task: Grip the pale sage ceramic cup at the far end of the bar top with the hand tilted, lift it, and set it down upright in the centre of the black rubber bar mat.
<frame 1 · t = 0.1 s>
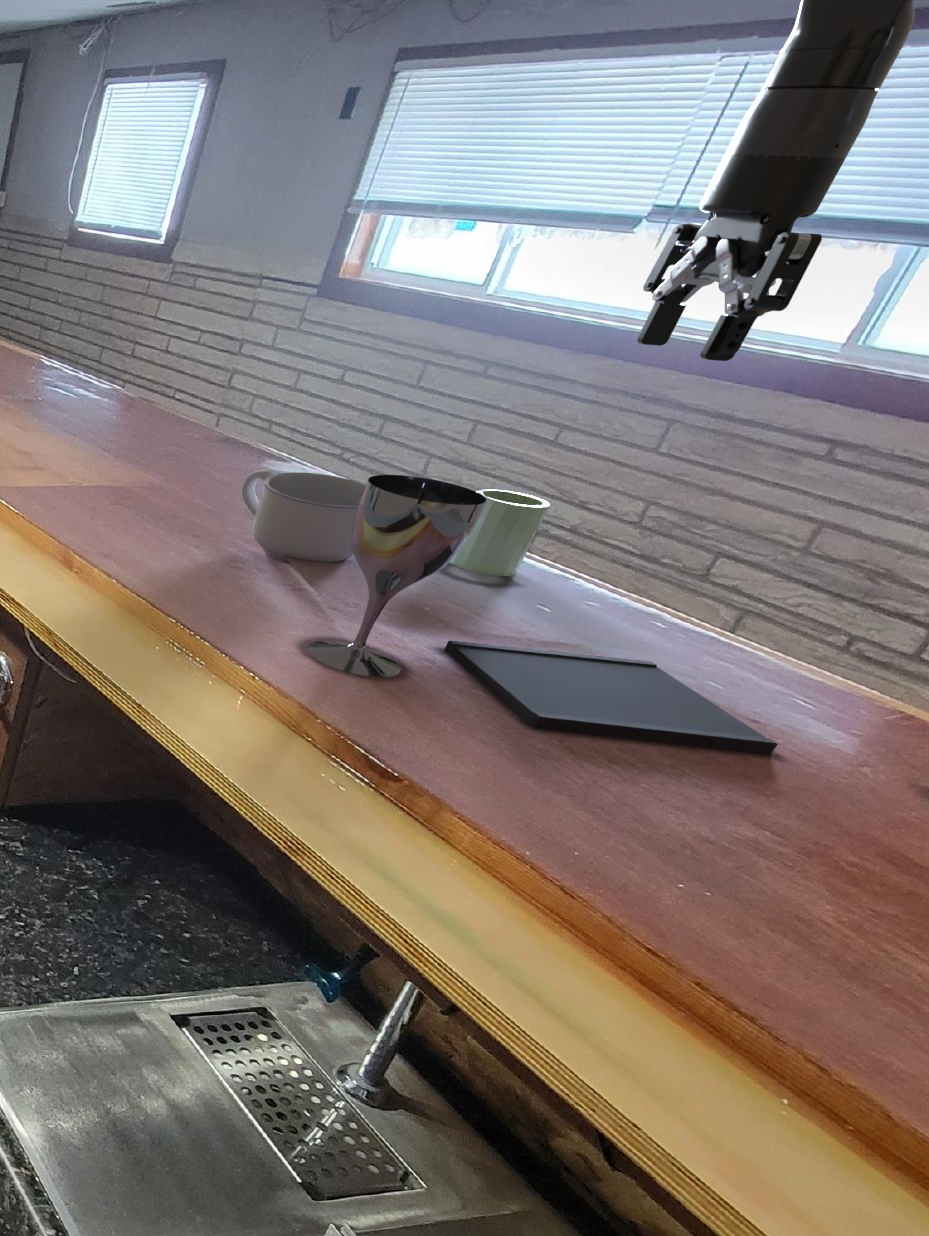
hand: (680, 351, 94), 23 cm above the counter, tool pointing down, fingers open, 8 cm apart
bar mat: (592, 699, 82), on the counter
teacup: (284, 554, 110), on the counter
wine glass: (351, 661, 87), on the counter
cup: (475, 576, 106), on the counter
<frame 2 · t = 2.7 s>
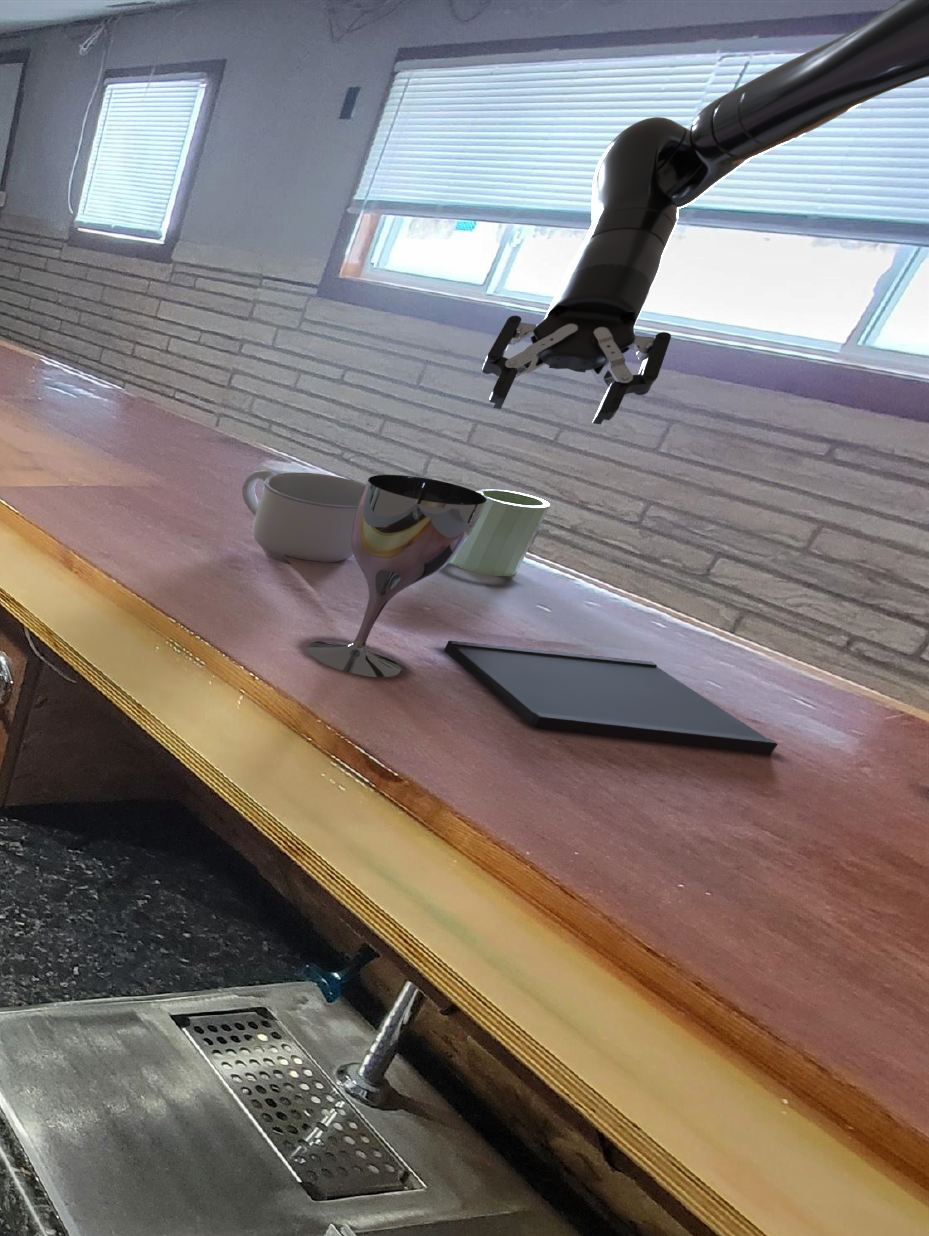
hand: (548, 411, 106), 15 cm above the counter, tool tilted 45°, fingers open, 8 cm apart
nothing on the counter moved.
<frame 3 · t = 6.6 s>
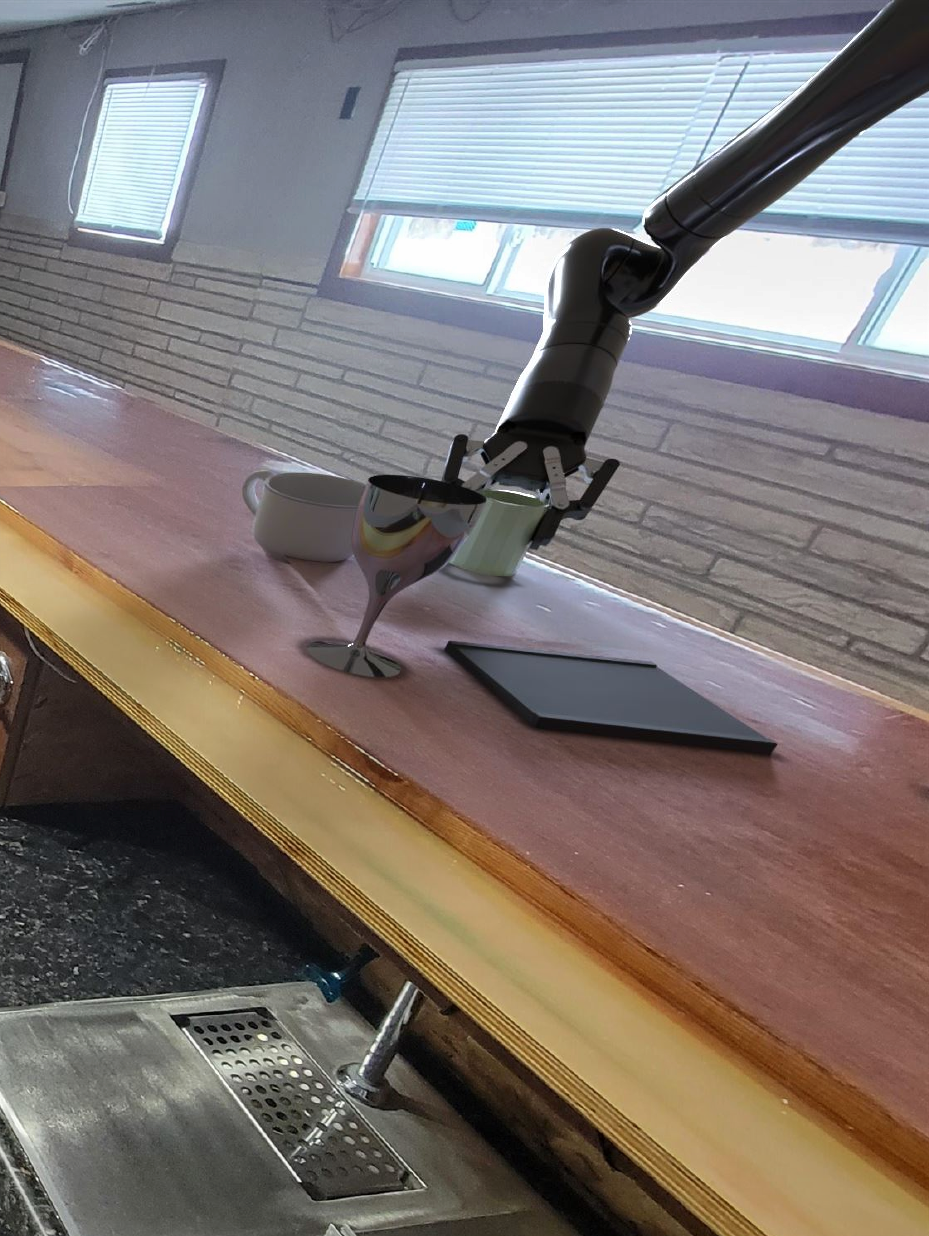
hand: (494, 536, 102), 5 cm above the counter, tool tilted 45°, fingers closed on cup, 6 cm apart
cup: (475, 576, 106), on the counter, touching gripper
everything else where it was.
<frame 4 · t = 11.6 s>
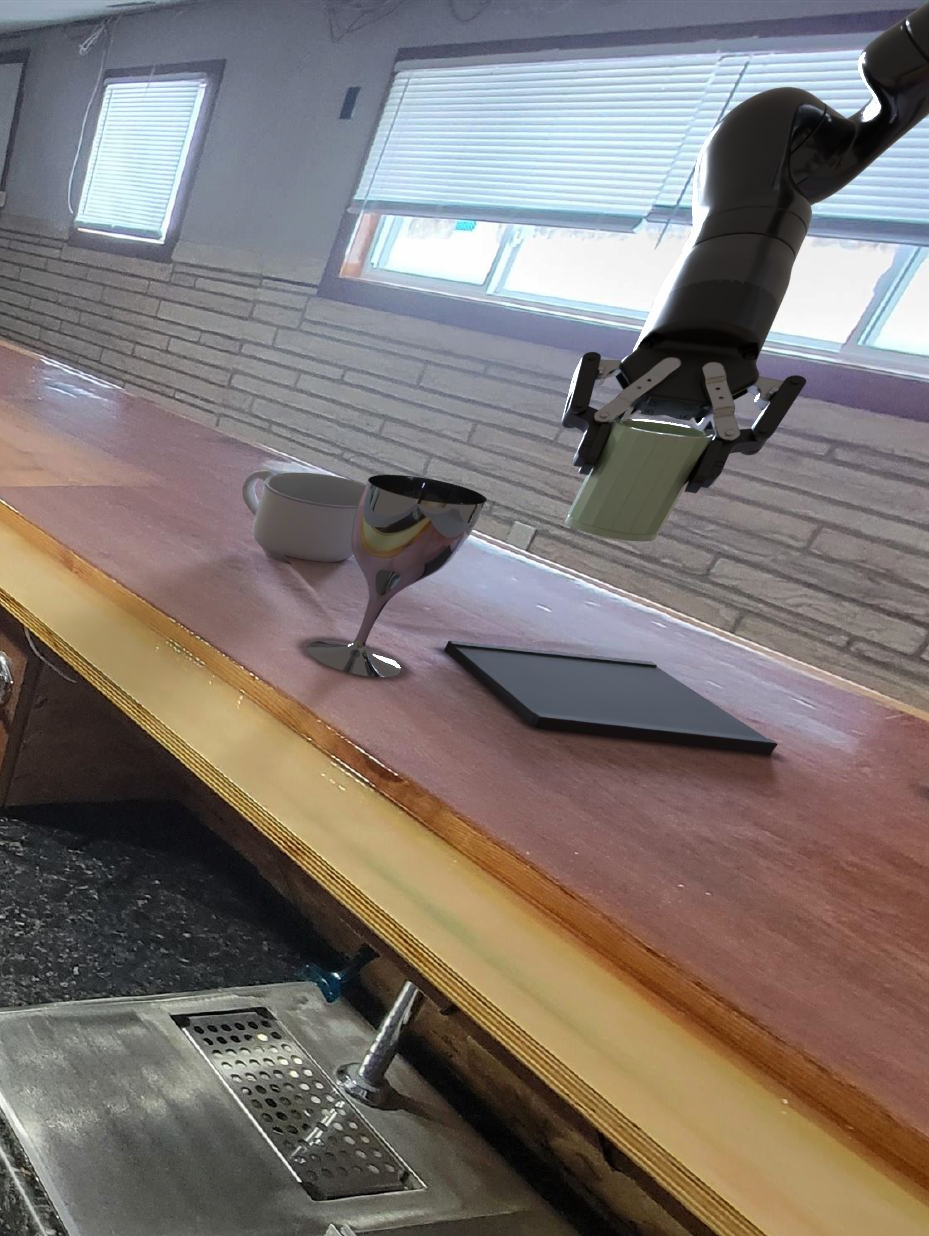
hand: (639, 477, 81), 16 cm above the counter, tool tilted 45°, fingers closed on cup, 6 cm apart
cup: (609, 529, 85), point 11 cm above the counter, touching gripper
everything else where it was.
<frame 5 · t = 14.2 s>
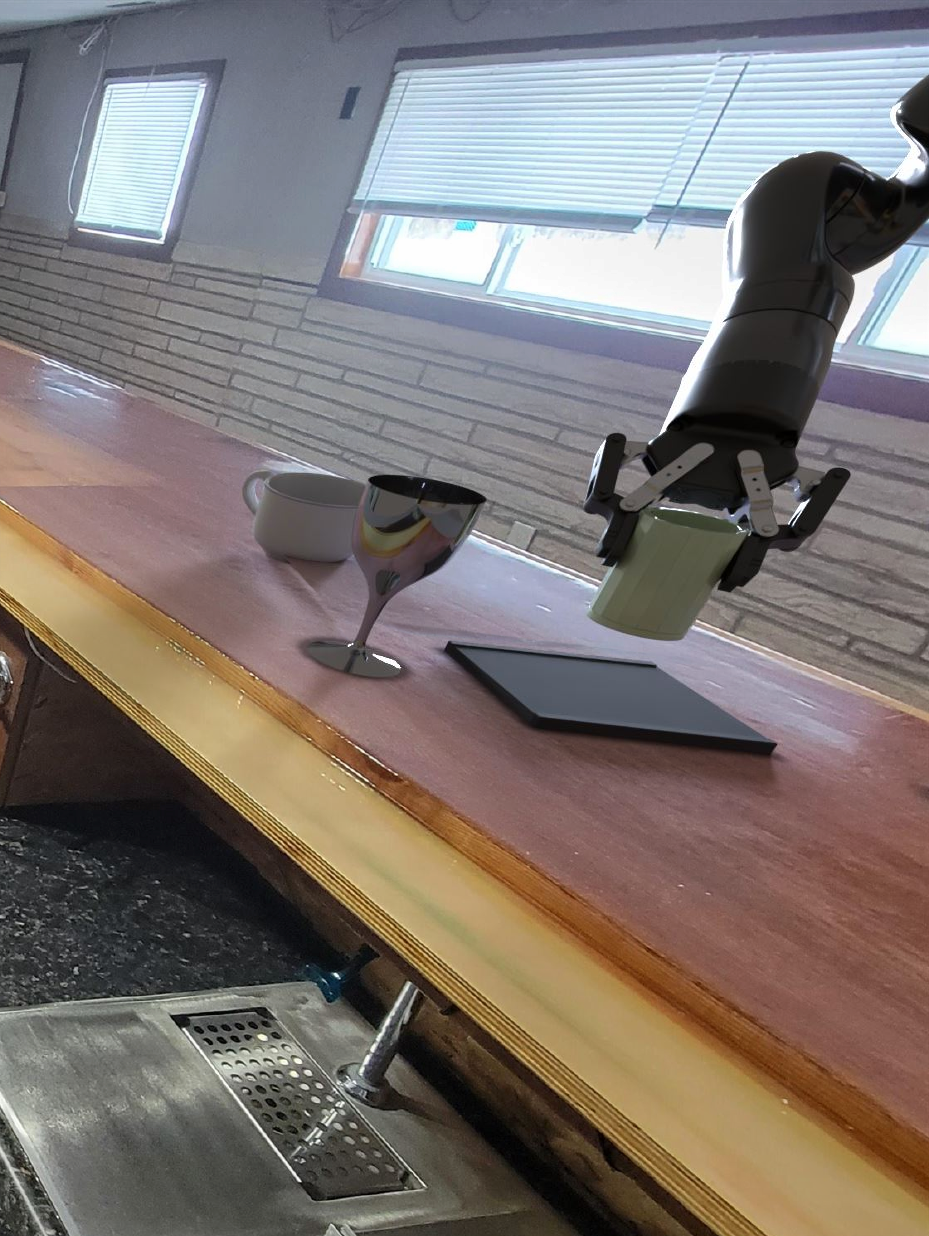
hand: (669, 573, 75), 11 cm above the counter, tool tilted 45°, fingers closed on cup, 6 cm apart
cup: (634, 624, 79), point 7 cm above the counter, touching gripper
everything else where it was.
when the fingers open (6 cm above the counter, at t = 16.4 s): cup stays where it is, resting on bar mat.
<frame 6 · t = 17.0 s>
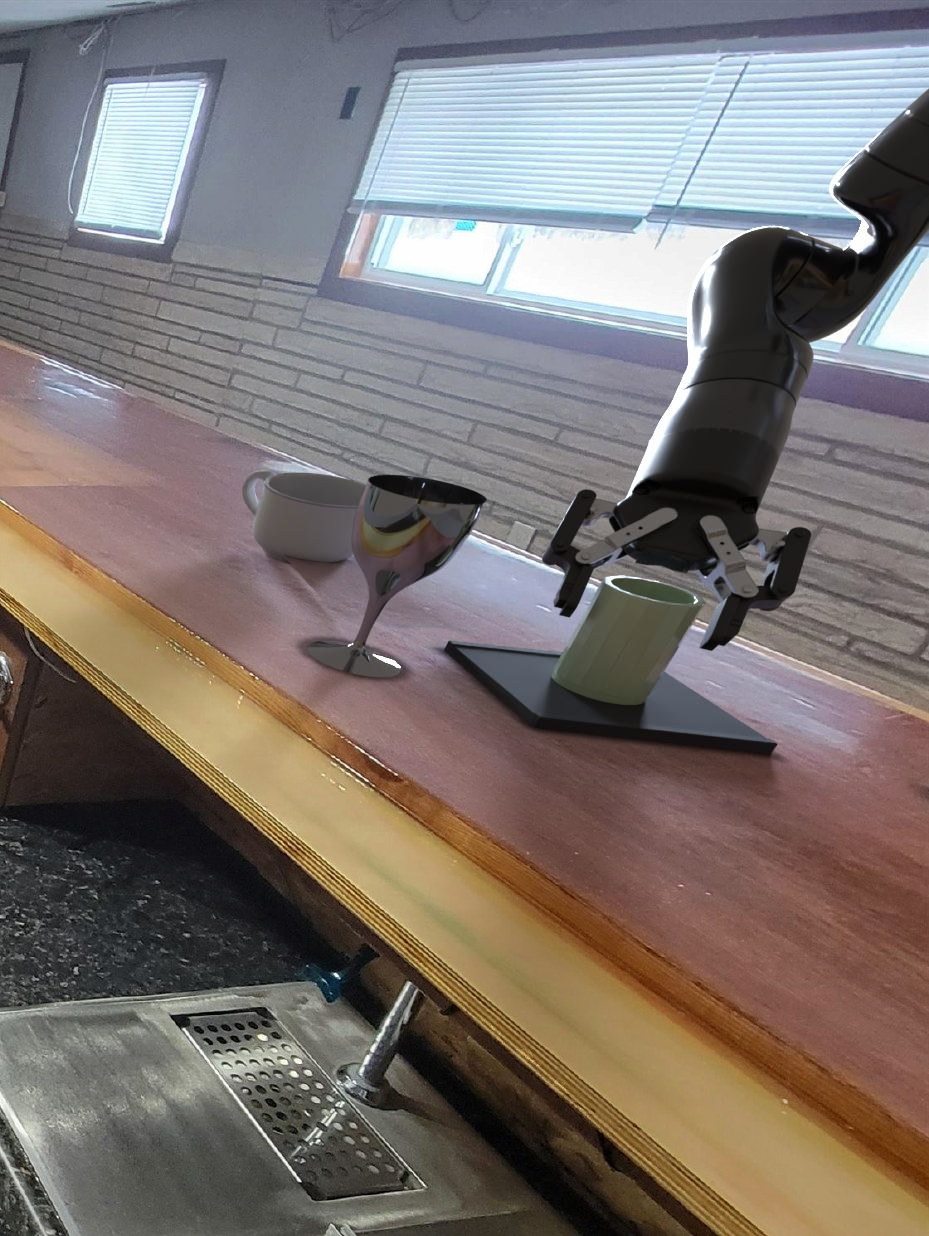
hand: (637, 628, 78), 7 cm above the counter, tool tilted 45°, fingers open, 8 cm apart
cup: (597, 687, 81), point 1 cm above the counter, touching bar mat
everything else where it was.
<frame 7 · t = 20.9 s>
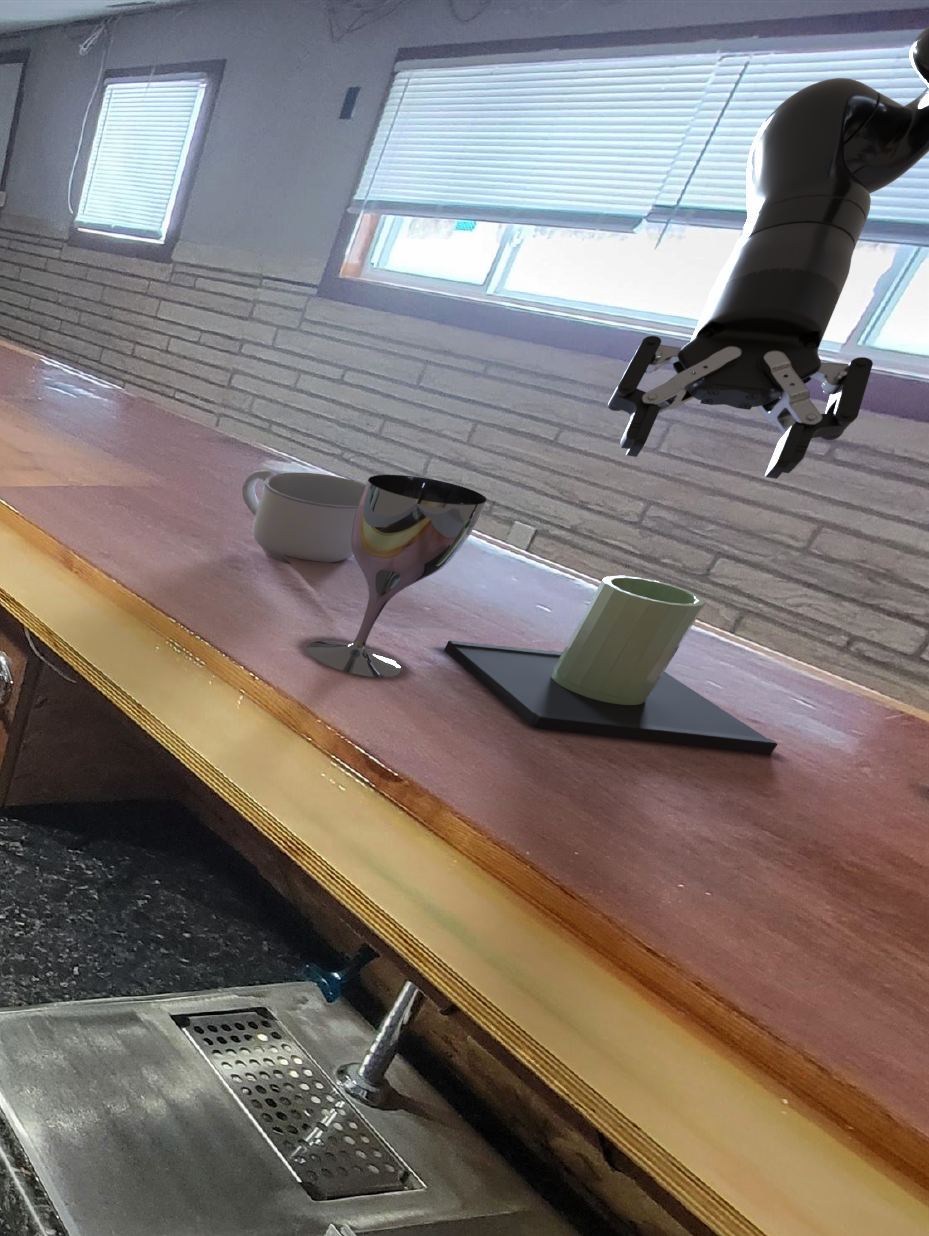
hand: (703, 461, 81), 17 cm above the counter, tool tilted 45°, fingers open, 8 cm apart
nothing on the counter moved.
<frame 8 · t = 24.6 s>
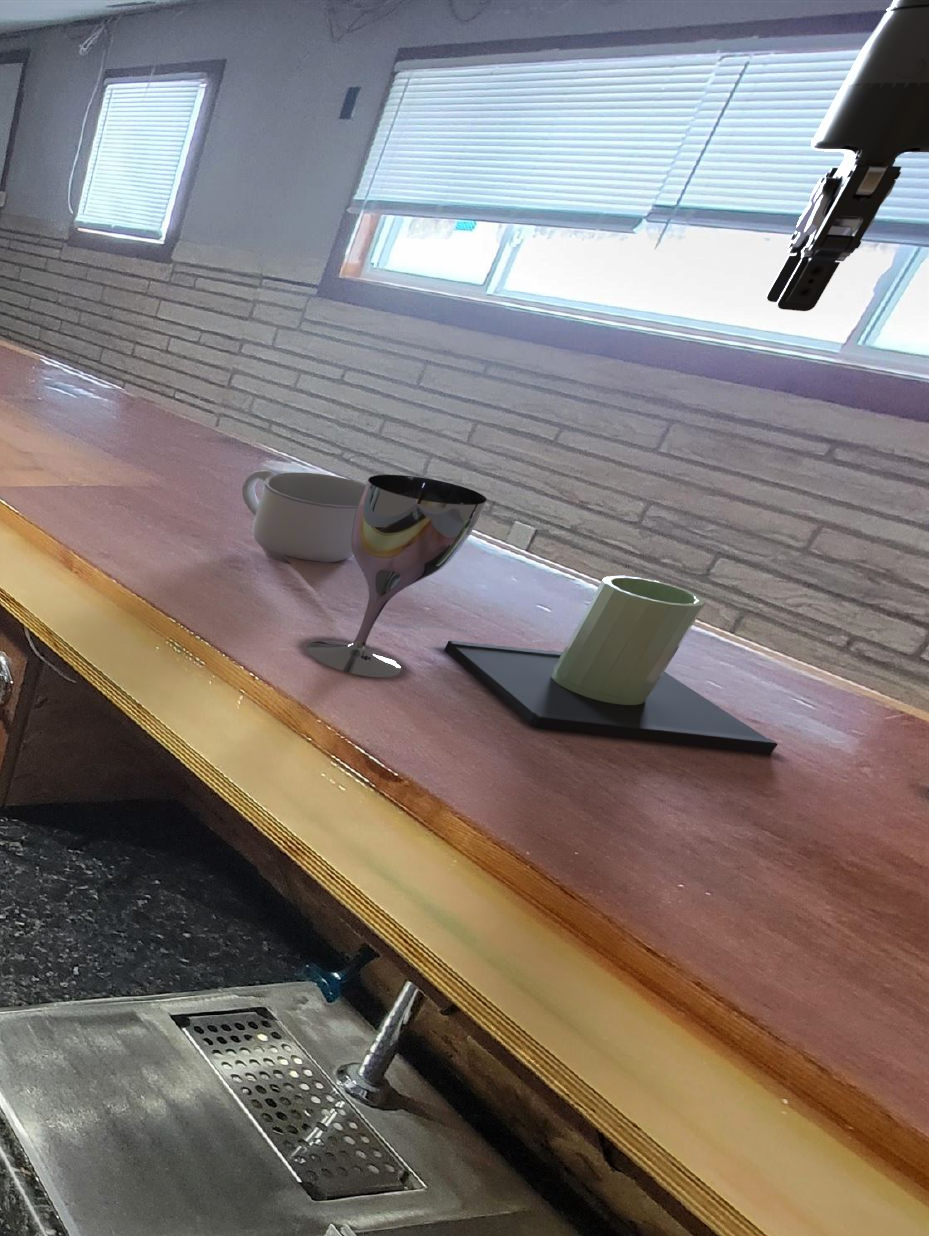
hand: (786, 306, 85), 28 cm above the counter, tool pointing down, fingers open, 8 cm apart
nothing on the counter moved.
at the end: cup 0.2 cm off-centre on the bar mat, point 1.0 cm above the bar mat's base; cup tilted 0°; the gripper is holding nothing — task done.
